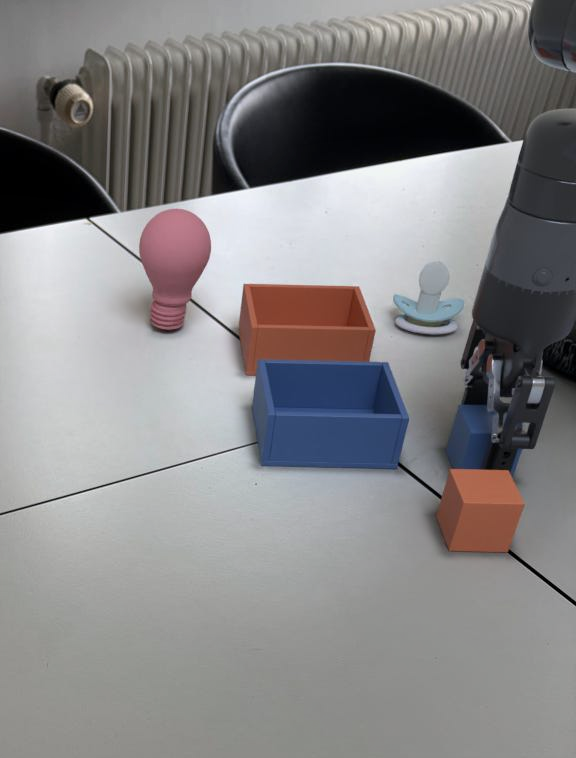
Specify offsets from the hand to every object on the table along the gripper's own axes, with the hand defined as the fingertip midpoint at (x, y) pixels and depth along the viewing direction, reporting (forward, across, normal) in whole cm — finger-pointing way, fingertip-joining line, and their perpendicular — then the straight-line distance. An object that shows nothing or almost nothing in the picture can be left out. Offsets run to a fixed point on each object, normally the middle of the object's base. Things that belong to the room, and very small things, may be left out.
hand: (479, 452), depth 89 cm
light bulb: (+2, +25, +26) cm, 36 cm away
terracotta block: (+1, -10, +3) cm, 10 cm away
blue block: (+1, 0, 0) cm, 1 cm away
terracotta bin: (+1, +20, +13) cm, 24 cm away
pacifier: (+1, +27, -1) cm, 27 cm away
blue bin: (+1, +4, +13) cm, 13 cm away
